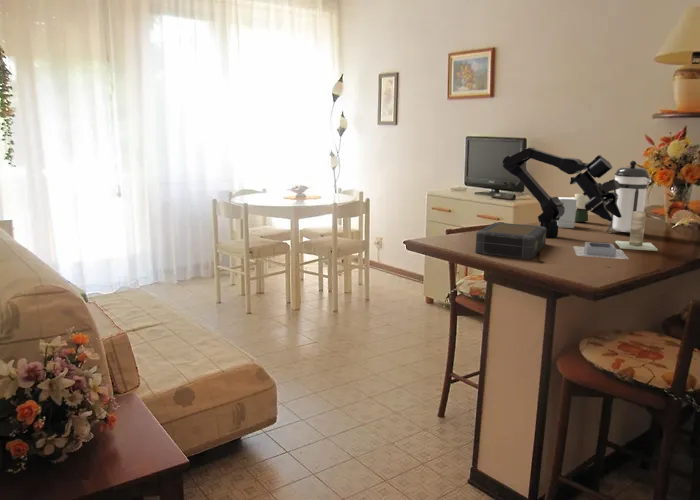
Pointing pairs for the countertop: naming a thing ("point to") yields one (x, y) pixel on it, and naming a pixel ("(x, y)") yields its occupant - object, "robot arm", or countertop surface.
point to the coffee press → (629, 195)
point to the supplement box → (568, 212)
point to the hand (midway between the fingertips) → (616, 218)
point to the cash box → (511, 240)
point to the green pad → (645, 246)
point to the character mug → (581, 207)
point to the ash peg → (637, 228)
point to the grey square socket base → (600, 250)
